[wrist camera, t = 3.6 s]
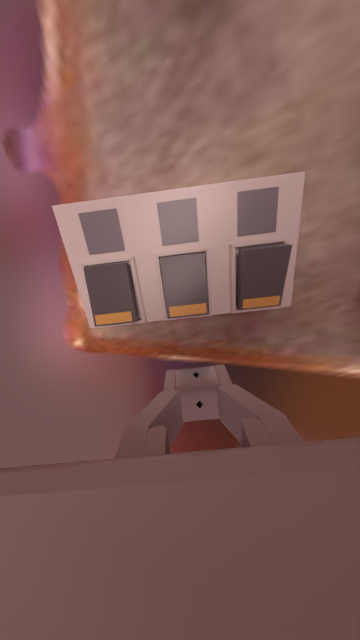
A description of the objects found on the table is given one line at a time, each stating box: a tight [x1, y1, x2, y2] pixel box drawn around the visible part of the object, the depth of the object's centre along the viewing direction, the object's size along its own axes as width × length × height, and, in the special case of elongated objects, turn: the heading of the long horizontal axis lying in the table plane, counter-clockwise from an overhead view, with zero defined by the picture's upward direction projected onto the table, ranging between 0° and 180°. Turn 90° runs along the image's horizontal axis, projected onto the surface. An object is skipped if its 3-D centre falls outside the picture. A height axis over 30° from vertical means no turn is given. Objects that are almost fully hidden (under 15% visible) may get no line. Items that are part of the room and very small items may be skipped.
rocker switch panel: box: [52, 171, 305, 328], centre depth 22 cm, size 15×28×5 cm, turn 97°
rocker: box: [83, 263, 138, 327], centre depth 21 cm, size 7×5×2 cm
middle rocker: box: [160, 253, 209, 319], centre depth 21 cm, size 7×5×2 cm
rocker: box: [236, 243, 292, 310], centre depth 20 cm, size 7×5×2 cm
